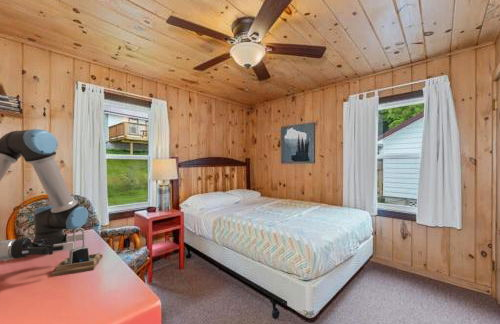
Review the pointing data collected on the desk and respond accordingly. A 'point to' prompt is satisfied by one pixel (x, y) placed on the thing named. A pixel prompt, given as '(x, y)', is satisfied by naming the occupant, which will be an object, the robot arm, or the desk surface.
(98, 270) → the desk surface
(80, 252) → the padlock
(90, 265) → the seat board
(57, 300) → the desk surface
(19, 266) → the desk surface
